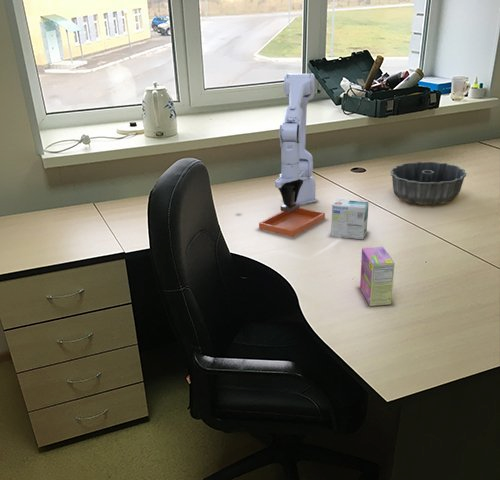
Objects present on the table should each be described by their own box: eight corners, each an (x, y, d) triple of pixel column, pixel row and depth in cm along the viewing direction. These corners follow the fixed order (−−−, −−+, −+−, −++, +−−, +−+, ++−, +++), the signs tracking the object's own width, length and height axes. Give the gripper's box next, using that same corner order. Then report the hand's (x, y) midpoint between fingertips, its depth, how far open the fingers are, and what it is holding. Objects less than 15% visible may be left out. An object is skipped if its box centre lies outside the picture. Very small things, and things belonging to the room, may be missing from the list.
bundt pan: (381, 206, 211) (384, 178, 206) (395, 184, 232) (397, 158, 226) (458, 213, 202) (462, 185, 197) (465, 190, 223) (469, 163, 217)
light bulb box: (367, 232, 191) (369, 200, 185) (363, 240, 185) (366, 207, 180) (334, 229, 194) (336, 197, 188) (330, 236, 188) (331, 204, 183)
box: (359, 288, 158) (361, 247, 151) (379, 286, 158) (383, 246, 152) (368, 306, 149) (372, 264, 143) (391, 305, 149) (395, 262, 143)
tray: (292, 212, 209) (292, 205, 207) (324, 220, 201) (325, 213, 200) (259, 230, 195) (258, 222, 194) (292, 238, 188) (292, 231, 187)
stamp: (289, 205, 199) (289, 187, 195) (299, 208, 197) (300, 189, 193) (280, 210, 195) (280, 192, 192) (290, 213, 193) (290, 194, 190)
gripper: (292, 155, 194) (292, 195, 202) (266, 165, 185) (267, 207, 192) (310, 158, 191) (309, 198, 198) (285, 169, 181) (285, 211, 188)
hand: (290, 203), depth 195 cm, fingers closed on stamp, 3 cm apart
